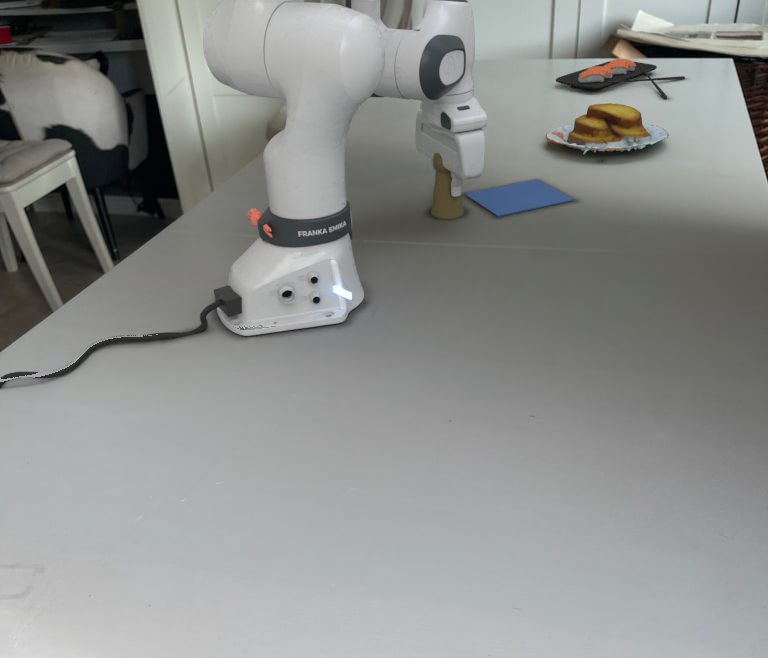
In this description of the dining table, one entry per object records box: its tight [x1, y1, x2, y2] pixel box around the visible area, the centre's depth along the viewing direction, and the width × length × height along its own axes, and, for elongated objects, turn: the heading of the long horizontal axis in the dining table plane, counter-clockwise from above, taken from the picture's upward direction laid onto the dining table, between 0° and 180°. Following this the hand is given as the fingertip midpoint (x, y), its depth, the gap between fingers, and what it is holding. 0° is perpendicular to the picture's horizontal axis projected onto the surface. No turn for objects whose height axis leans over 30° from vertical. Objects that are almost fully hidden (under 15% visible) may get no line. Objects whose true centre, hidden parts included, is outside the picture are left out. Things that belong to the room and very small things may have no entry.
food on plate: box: [545, 102, 670, 162], centre depth 172 cm, size 25×25×7 cm
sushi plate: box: [555, 58, 686, 100], centre depth 210 cm, size 29×30×4 cm
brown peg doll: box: [430, 153, 465, 220], centre depth 145 cm, size 6×6×11 cm
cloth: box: [464, 178, 574, 218], centre depth 152 cm, size 16×13×1 cm
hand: (447, 190), depth 146 cm, fingers closed on brown peg doll, 5 cm apart
